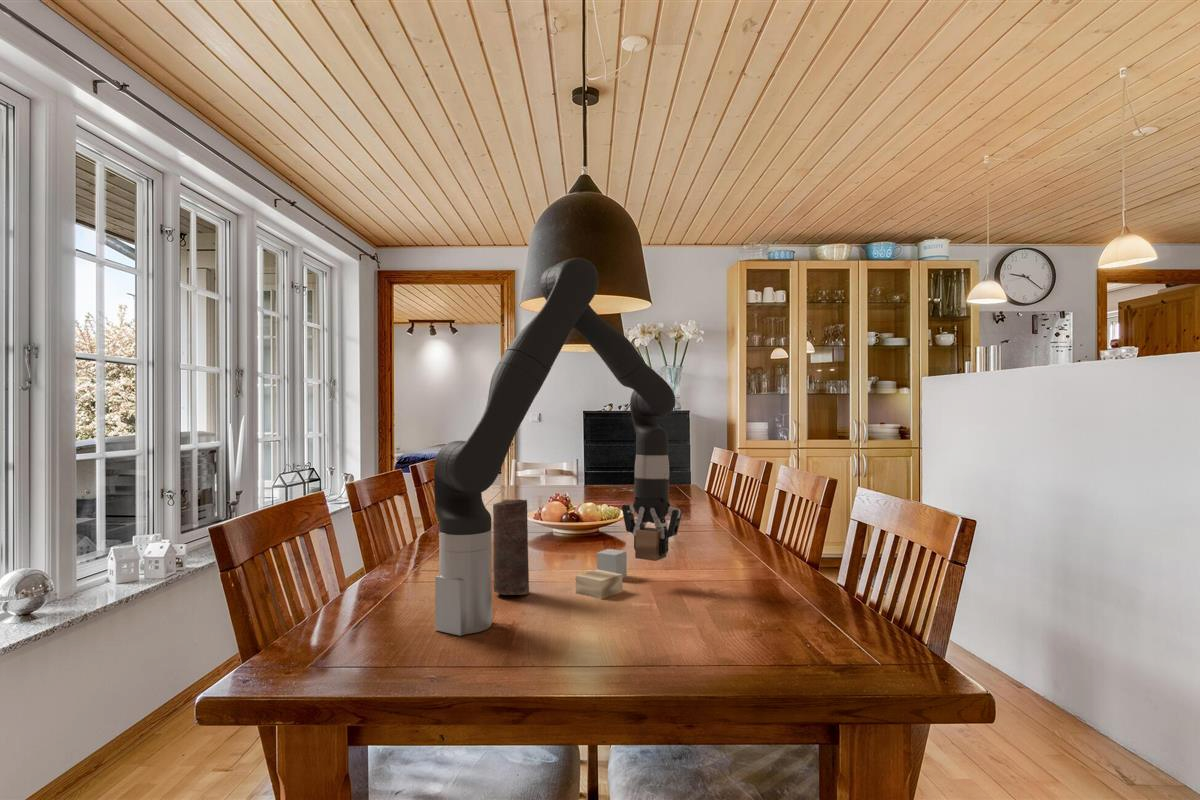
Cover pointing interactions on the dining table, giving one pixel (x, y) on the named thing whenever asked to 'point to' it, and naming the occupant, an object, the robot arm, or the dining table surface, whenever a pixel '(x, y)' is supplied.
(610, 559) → the grey block
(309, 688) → the dining table surface
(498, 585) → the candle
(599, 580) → the maple base
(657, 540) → the walnut block
